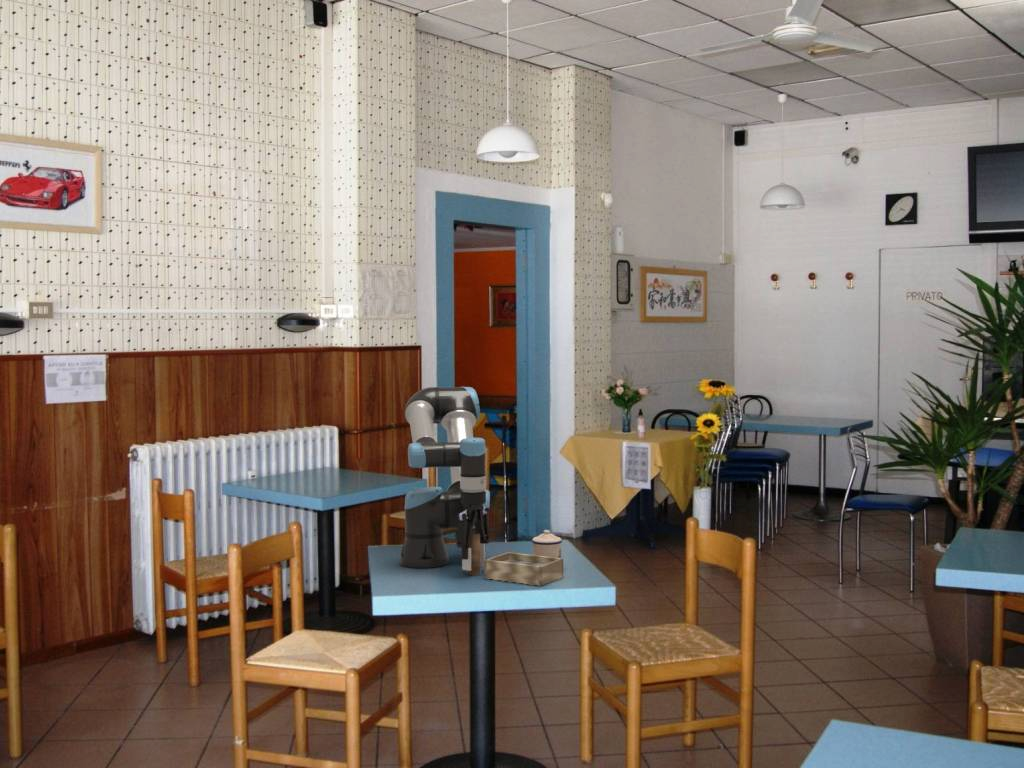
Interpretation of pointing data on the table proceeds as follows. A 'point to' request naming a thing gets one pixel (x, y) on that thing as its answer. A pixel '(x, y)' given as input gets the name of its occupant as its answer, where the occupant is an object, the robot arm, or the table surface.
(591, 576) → the table surface
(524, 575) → the box with hole
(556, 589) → the table surface
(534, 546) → the teacup with lid
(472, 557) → the peg
